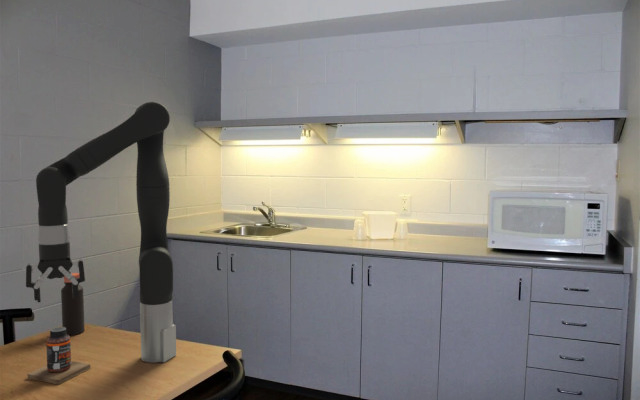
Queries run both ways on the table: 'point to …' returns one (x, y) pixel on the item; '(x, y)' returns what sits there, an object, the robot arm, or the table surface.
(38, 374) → the tan board
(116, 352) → the table surface
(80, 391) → the table surface
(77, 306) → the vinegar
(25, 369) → the table surface
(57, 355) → the supplement bottle
